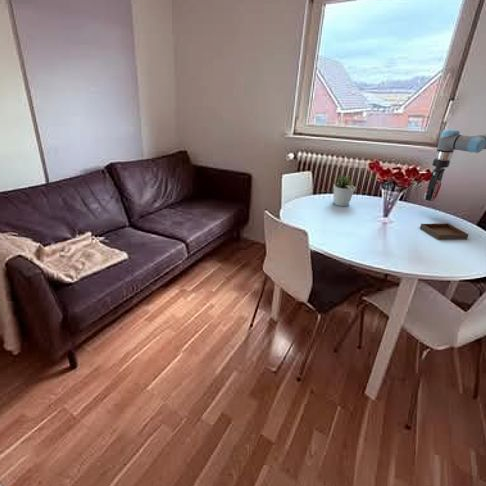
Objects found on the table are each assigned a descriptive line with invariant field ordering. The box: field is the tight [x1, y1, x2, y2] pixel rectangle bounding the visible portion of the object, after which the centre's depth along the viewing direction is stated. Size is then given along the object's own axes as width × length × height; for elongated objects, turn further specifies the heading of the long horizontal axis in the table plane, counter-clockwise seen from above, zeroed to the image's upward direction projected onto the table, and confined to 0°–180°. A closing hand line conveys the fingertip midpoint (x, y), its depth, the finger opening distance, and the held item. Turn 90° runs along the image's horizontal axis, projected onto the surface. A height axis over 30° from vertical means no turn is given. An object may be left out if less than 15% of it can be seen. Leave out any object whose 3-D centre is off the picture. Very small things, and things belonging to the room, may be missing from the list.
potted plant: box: [331, 174, 356, 207], centre depth 192 cm, size 13×14×20 cm
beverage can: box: [423, 180, 442, 203], centre depth 178 cm, size 6×6×12 cm
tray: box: [419, 222, 470, 241], centre depth 158 cm, size 13×15×3 cm
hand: (429, 199), depth 180 cm, fingers closed on beverage can, 6 cm apart
